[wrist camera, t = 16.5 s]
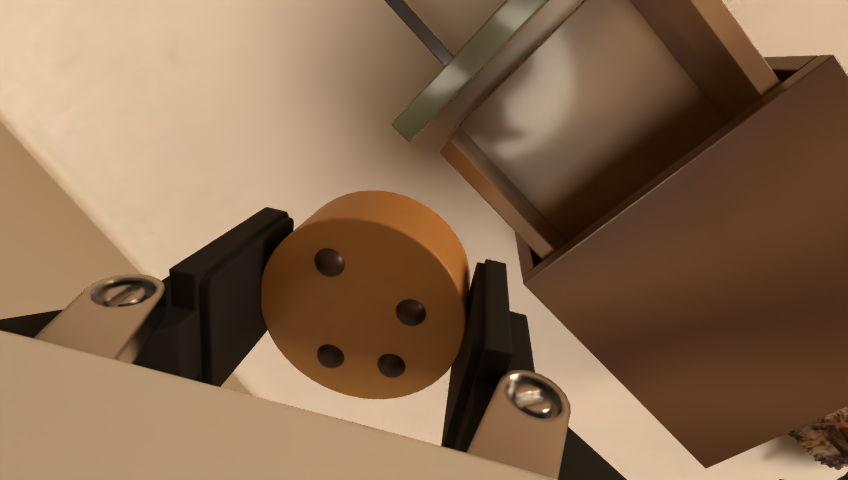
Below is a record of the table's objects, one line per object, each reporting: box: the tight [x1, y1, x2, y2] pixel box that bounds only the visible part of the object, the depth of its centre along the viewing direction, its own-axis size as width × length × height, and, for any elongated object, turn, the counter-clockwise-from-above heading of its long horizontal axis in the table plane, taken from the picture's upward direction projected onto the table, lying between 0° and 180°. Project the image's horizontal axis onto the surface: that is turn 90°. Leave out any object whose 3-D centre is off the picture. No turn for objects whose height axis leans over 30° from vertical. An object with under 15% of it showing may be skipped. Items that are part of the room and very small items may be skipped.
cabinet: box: [515, 55, 848, 468], centre depth 23 cm, size 16×15×9 cm
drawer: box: [385, 0, 781, 261], centre depth 21 cm, size 21×13×7 cm, turn 45°
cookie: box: [261, 191, 470, 399], centre depth 11 cm, size 5×5×2 cm
